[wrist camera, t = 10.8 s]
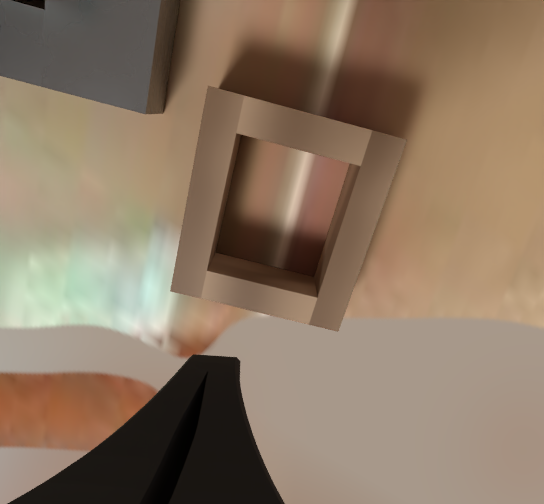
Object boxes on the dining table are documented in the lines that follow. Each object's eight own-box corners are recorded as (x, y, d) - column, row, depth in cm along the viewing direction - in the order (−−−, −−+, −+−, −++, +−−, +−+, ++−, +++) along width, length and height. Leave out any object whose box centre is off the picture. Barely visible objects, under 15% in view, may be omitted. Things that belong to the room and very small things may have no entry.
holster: (391, 135, 19) (407, 139, 16) (332, 307, 22) (338, 331, 20) (218, 88, 18) (208, 85, 16) (183, 271, 21) (170, 291, 19)
